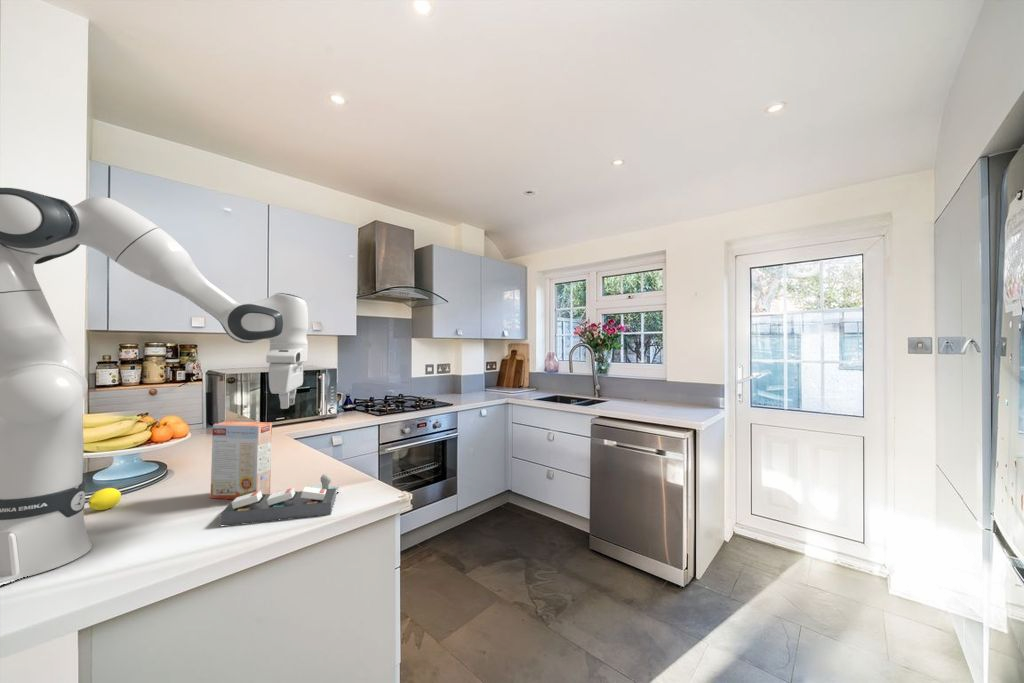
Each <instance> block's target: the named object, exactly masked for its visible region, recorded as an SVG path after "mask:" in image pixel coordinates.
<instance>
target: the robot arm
mask: <svg viewBox="0 0 1024 683" xmlns="http://www.w3.org/2000/svg"><path fill="white" fill-rule="evenodd" d="M81 245H82V246H87V247H90V248H92V249H94V250H96V251H98V252H100V253H102V254H103V255H105V256H107V257H108V258H109V259H111V260H112V261H113V262H115V263H117V264H118V265H120V266H121V267H123V268H124V269H126V270H127V271H129V272H131V273H133V274H134V275H136V276H138V277H139V278H142V279H145V280H146V281H149V282H151V283H154V284H156V285H158V286H160V287H163V288H165V289H168V290H170V291H172V292H174V293H176V294H179V295H180V296H182V297H184V298H186V299H188V300H189V301H190V302H191V303H193V304H195V305H196V306H197V307H199V308H200V309H201V310H203V311H205V312H206V313H208V314H209V315H210V316H212V317H214V318H215V320H217V321H218V322H219V324H220V325H221V326H222V328H223V330H224V332H225V333H226V335H228V336H229V337H230V338H231V339H232V340H233V341H235V342H239V343H241V344H253V343H256V342H258V341H262V340H268V341H269V351H268V353H267V354H266V356H265V358H266V359H265V360H266V363H267V364H268V386H269V390H270V393H271V394H273V395H274V394H278V398H279V402H280V406H279V407H280V410H285V409H286V410H287V409H289V408H290V406H293V405H295V398H296V395H297V388H299V387H301V386H303V383H304V363H303V362H308V357H309V356H308V354H309V350H308V349H309V340H308V337H307V336H308V332H309V331H308V330H309V324H310V323H309V320H310V319H309V308H308V304H307V302H306V300H305V299H304V298H302V297H300V296H298V295H294V294H291V293H285V292H277V293H274V294H272V295H271V296H268V297H266V298H264V299H261V300H258V301H257V300H256V301H253V302H247V303H240V302H238V301H237V300H234V299H233V298H232V297H230V296H229V295H228V294H227V293H225V292H224V291H222V290H221V289H219V288H218V287H217V286H216V285H215V284H213V283H211V282H210V281H209V280H208V279H207V278H206V277H205V276H204V275H203V274H202V272H200V270H199V269H198V267H197V266H196V264H195V263H194V261H193V259H192V257H191V255H190V254H189V252H188V251H187V250H186V249H185V248H184V247H183V246H182V245H181V244H180V243H179V242H178V241H177V240H176V239H175V238H174V237H173V236H171V235H170V234H169V233H167V232H166V231H165V230H164V229H162V228H161V227H160V226H159V225H157V224H155V223H154V222H152V221H151V220H150V219H148V218H146V217H145V216H143V215H142V214H140V213H139V212H137V211H136V210H134V209H132V208H130V207H128V206H127V205H125V204H123V203H121V202H120V201H117V200H115V199H113V198H110V197H107V196H106V197H105V196H94V197H90V198H85V199H84V200H82V201H80V202H78V203H77V204H75V205H71V204H70V203H69V202H68V201H66V200H64V199H62V198H61V199H60V198H57V197H53V196H50V195H49V196H48V195H45V194H41V193H38V192H35V191H31V190H27V189H21V188H14V187H0V583H3V582H7V581H11V580H16V579H19V578H22V579H24V578H23V577H25V578H27V576H28V577H31V576H34V575H38V574H41V573H44V572H47V571H50V570H54V569H56V568H59V567H61V566H64V565H67V564H68V563H71V562H73V561H75V560H77V559H79V558H80V557H82V556H84V555H85V554H87V553H88V552H89V551H90V550H92V547H93V544H92V542H91V540H90V537H89V534H88V532H87V531H88V530H87V527H86V522H85V516H84V509H85V505H86V491H87V490H86V481H85V480H83V478H84V477H83V476H84V474H83V473H84V447H85V445H84V444H85V443H84V405H83V404H84V399H85V396H86V394H87V393H88V387H89V385H88V380H87V379H86V377H85V375H84V373H83V370H82V368H81V366H80V365H79V362H78V361H77V358H76V357H75V355H74V353H73V351H72V349H71V347H70V346H69V343H68V342H67V339H66V338H65V336H64V334H63V332H62V330H61V328H60V327H59V325H58V323H57V320H56V318H55V316H54V313H53V312H52V310H51V307H50V305H49V303H48V301H47V299H46V297H45V296H46V295H44V291H43V290H42V288H41V285H40V284H39V281H38V279H37V276H36V275H35V274H36V273H35V270H34V266H35V265H39V264H41V265H42V264H43V263H46V262H49V261H51V260H54V259H58V258H60V257H63V256H66V255H69V254H71V253H73V252H75V251H76V250H77V249H78V248H79V247H80V246H81ZM19 580H20V579H19Z"/></svg>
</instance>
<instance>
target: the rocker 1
mask: <svg viewBox="0 0 1024 683" xmlns="http://www.w3.org/2000/svg"><path fill="white" fill-rule="evenodd" d="M261 497H262V493H261V490H260V491H257V492H254V493H250V494H247V495H244V496H240V497H237V498H236V499H235V500H234V499H233V500H234V501H233V500H232V501H233V502H232V501H231V502H232V506H233V509H235V508H238V507H242V506H245V505H248V504H251V503H255V502H258V501H259V500H260V499H261Z"/></svg>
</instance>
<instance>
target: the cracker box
mask: <svg viewBox="0 0 1024 683" xmlns="http://www.w3.org/2000/svg"><path fill="white" fill-rule="evenodd" d="M272 427H273V422H269V421H268V422H266V421H265V422H264V421H263V422H262V421H259V422H258V421H240V420H239V421H237V420H236V421H233V420H229V421H223V422H218V423H215V424H212V439H211V440H212V442H211V443H212V444H211V471H210V472H211V474H210V498H211V499H225V500H226V499H228V500H234V499H235V498H236V497H240V496H244V495H247V494H250V493H254V492H257V491H260V490H261V493H262V494H265V495H266V494H271V467H272V462H271V461H272V436H273V434H272V433H273V432H272V430H273V428H272Z"/></svg>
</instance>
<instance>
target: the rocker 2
mask: <svg viewBox="0 0 1024 683" xmlns="http://www.w3.org/2000/svg"><path fill="white" fill-rule="evenodd" d="M270 494H271V495H270V496H269V498H268V499H267V502H268V506H269V505H272V504H276V503H279V502H282V501H285V500H288V499H291V498H293V496H294V495H295V487H291V488H287V489H285V490H282V491H278V492H274V493H270Z"/></svg>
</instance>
